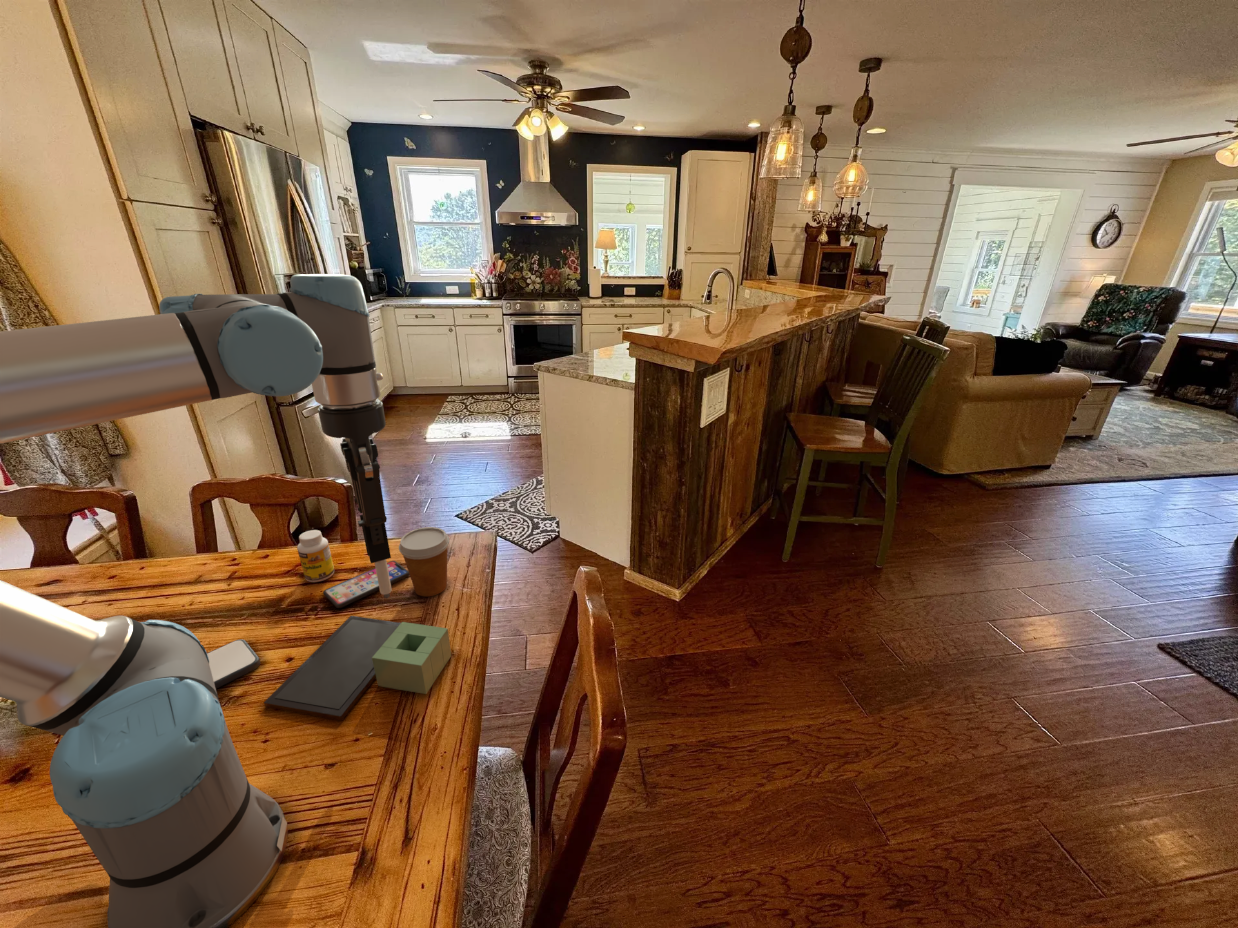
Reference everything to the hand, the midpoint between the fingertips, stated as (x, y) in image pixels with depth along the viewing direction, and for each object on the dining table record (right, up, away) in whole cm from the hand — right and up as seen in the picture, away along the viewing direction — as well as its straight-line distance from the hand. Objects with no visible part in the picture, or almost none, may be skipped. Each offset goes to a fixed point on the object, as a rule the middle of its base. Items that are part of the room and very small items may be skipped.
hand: (379, 555), depth 73 cm
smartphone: (-17, -12, +30) cm, 36 cm away
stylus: (0, -7, +3) cm, 7 cm away
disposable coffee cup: (-4, -12, +30) cm, 33 cm away
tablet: (-10, -20, +10) cm, 25 cm away
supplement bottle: (-29, -11, +33) cm, 45 cm away
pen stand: (+2, -21, +9) cm, 23 cm away
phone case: (-32, -22, +6) cm, 40 cm away
